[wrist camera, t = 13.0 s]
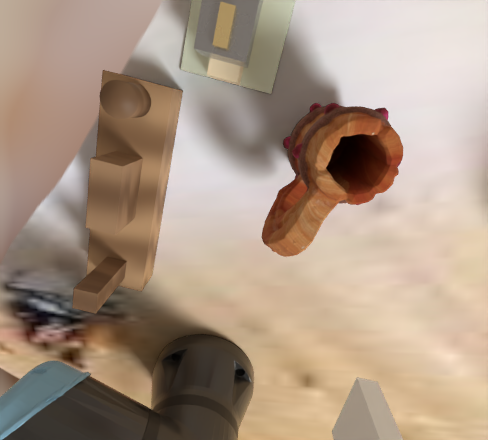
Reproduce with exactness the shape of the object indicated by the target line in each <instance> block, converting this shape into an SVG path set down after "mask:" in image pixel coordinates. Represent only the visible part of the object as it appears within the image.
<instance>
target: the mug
mask: <svg viewBox="0 0 488 440" xmlns="http://www.w3.org/2000/svg"><path fill="white" fill-rule="evenodd" d="M387 120H388V111H387V110H386V108H378V109H375V110H373V109H369V108H365V107H357V106H356V107H343V106H339V105H338V104H335V103H331V104H329V105H327V106H325V107H322V106H321V105H320V104H318V103H315V104H313V105H312V106H311V107H310V112H309V113H308V114H307V115H306V116H305V117H303V118H302V119H301V120H300V121H299V122H298V124H297V125H296V127H295V128H294V130H293V131H292V134H291V136H289V137H286V138H285V139H284V141H283V145H284V147H285V148H286V149H288V158H289V161H290V164H291V167H292V169H293V170H294V172H295V174H296V176H295V180H293V181H292V182H291V183H290V184H288V185H287V186H285V187H283V188H282V189H281V190H280V191H279V192H278V195H277V198H276V200H275V202H274V204H273V206H272V208H271V210H270V212H269V214H268V216H267V218H266V220H265V224H264V227H263V232H262V239H263V242H264V244H265V245H267V246H268V247H270V248H271V249H272V251H273V252H277V253H278V254H279V255H281V256H293V255H297V254H299V253H300V252H302V251H303V250H305V249H306V248H307V247H308V246H309V245H310V244H311V242H312V241H313V239H314V237H315V236H316V234H317V232H318V230H319V228H320V226H321V224H322V223H323V221H324V219H325V218H326V217H327V215H328V214H329V213H330V212H331V211H332V209H333V208H334V207H335V206H336V205H337V204H338V203H348V204H356V205H359V204H362V203H366V202H369V201H370V200H372V199H373V198H374V196H375V194H377V193H383V192H385V191H386V190H387V189H388V188H389V187H390V186H391V185H392V184H393V181H394V177H395V176H397V175H398V172H399V171H398V168H397V167H398V166H399V165H400V163H401V160H402V157H403V146H402V143H401V140H400V137H399V135H398V134H397V133H396V132H395V130H394V129H393V128H392V127H391V125H390V124H389V122H388V121H387Z"/></svg>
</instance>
